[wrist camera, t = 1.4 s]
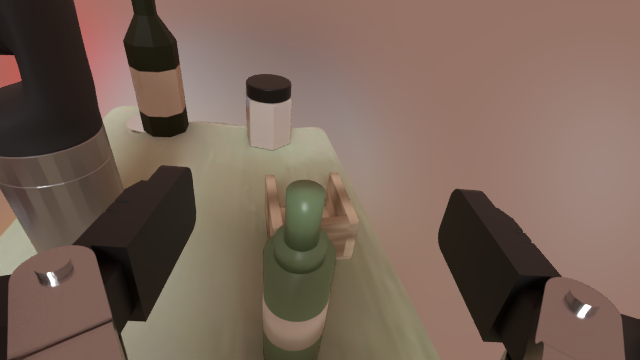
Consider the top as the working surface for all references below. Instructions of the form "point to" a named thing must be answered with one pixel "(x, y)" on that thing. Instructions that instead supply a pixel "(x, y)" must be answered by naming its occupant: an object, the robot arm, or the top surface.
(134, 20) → the wine bottle
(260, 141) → the jar
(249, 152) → the top surface
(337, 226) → the cradle
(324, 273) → the green bottle
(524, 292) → the robot arm
